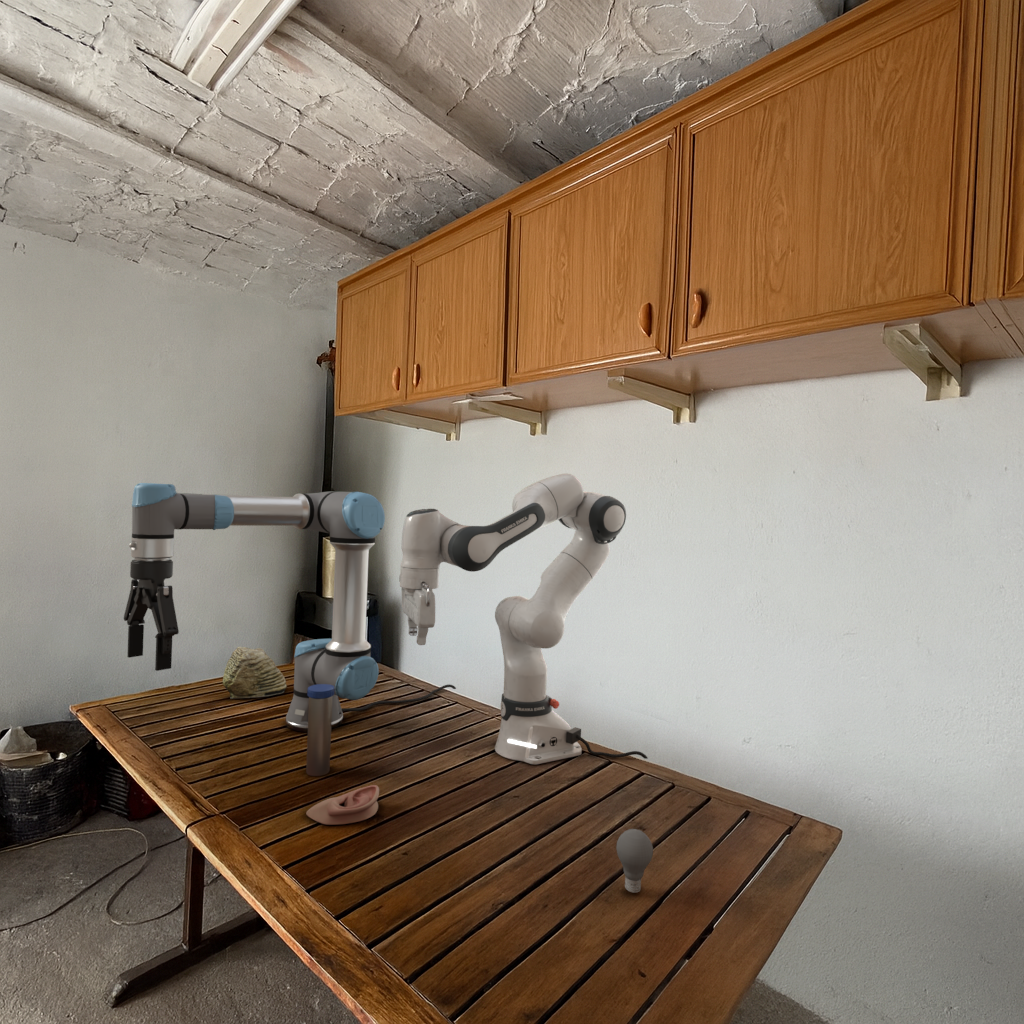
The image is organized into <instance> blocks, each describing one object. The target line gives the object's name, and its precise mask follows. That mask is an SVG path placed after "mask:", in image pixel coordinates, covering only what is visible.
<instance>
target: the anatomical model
mask: <svg viewBox="0 0 1024 1024" xmlns="http://www.w3.org/2000/svg"><path fill="white" fill-rule="evenodd" d="M379 795H380V787H379V786H378V785H376V784H372V785H367V786H364V787H360V788H356V789H354V790H352V791H349V792H347V793H344V794H341V795H339V796H335V797H330V798H327V799H325V800H322V801H320V802H318V803H316V804H315V805H312V806H311V807H310V808H309V809H308V810H306V812H305V813H306V816H307V817H308V818H309V819H311V820H313V821H315V822H317V823H319V824H321V825H327V826H333V825H346V824H353V823H357V822H362V821H365V820H367V819H369V818H372V817H373V816H374V815H376V814H377V811H378V810H379V803H378V799H379Z"/></svg>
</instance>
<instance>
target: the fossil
mask: <svg viewBox="0 0 1024 1024" xmlns="http://www.w3.org/2000/svg"><path fill="white" fill-rule="evenodd" d="M222 676H223V677H222V685H223V687H224V688H225V690H226V691H228V693H229V698H230V699H250V698H264V697H271V696H275V695H281V694H284V693H285V691H286V689H287V687H288V686H287V680H286V678H285V676H284V674H283V673H282V672H281V669H279V668H278V667H277V665H276V663H275V662H274V660H273V659H272V658H271V657H270V656H269V655H268V654H267V653H266V652H265V650H264V649H263V648H260V647H258V648H251V647H247V646H246V647H245V646H238V647H237V648H236V649H235V650H233V651H232V653H231V656H230V657H229V659H228V660H227V663H226V666H225V668H224V671H223V675H222Z"/></svg>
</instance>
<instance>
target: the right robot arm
mask: <svg viewBox="0 0 1024 1024" xmlns="http://www.w3.org/2000/svg"><path fill="white" fill-rule="evenodd" d="M511 507H512V508H511V509H512V512H511V513H508V514H507V515H505V516H503V517H501V518H499V519H498V520H496V521H494V522H492V523H490V524H488V525H467V524H461V523H458V522H456V521H454V520H452V519H450V518H448V517H446V516H445V515H444V514H442V513H441V512H440V510H438V509H436V508H421V509H415V510H412V511H410V512H408V513H407V515H406V516H405V518H404V521H403V527H402V532H401V551H402V560H401V562H400V570H399V579H398V581H399V588H401V606H402V612H403V613H404V614H405V616H407V625H408V635H409V636H411V637H416V644H417V645H418V646H425V645H427V637H428V632H429V628H430V629H432V628H434V627H435V624H436V595H435V592H434V590H437V589H439V585H440V565H441V563H446V564H449V565H452V566H455V567H458V568H460V569H462V570H464V571H466V572H479V571H482V570H484V569H486V568H487V567H488V566H489V565H490V564H491V563H492V562H493V561H494V560H495V559H496V557H498V555H499V554H500V553H501V552H502V551H503V550H505V549H506V548H508V547H510V546H512V545H513V544H515V543H517V542H518V541H520V540H522V539H523V538H525V537H526V536H529V535H530V534H532V533H533V532H535V531H537V530H540V529H542V528H545V527H547V526H549V525H551V524H553V523H555V522H556V521H559V523H560V524H561V525H563V526H564V527H565V528H567V529H572V530H574V534H573V537H572V539H571V540H570V542H569V543H568V544H567V545H566V546H565V547H564V548H563V549H562V550H561V551H560V552H559V554H558V555H556V557H555V558H554V559H553V560H552V561H551V562H550V563H549V564H548V566H547V567H546V568H545V569H544V571H543V572H542V573H541V575H540V582H539V585H538V587H537V589H536V590H535V592H534V594H533V596H532V597H530V598H529V597H526V596H523V595H513V596H507V597H505V598H503V599H502V600H500V601H499V602H498V603H497V606H496V608H495V611H494V619H495V622H496V625H497V627H498V630H499V637H500V642H501V650H502V656H503V693H502V694H501V701H500V717H501V719H500V725H499V731H498V735H497V739H496V742H495V745H494V751H495V752H496V754H497V755H500V756H501V757H503V758H506V759H509V760H513V761H519V762H524V763H527V764H530V765H540V764H545V763H550V762H554V761H559V760H564V759H569V758H573V757H577V756H581V755H582V754H583V753H582V751H583V749H582V747H581V745H580V743H579V741H580V742H581V743H582V744H583V745H585V747H586V750H587V752H588V753H589V754H590V755H593V756H601V757H602V756H604V757H608V758H613V759H614V758H616V759H617V758H625V757H629V756H633V755H634V756H635V755H638V756H640V757H642V758H643V759H644V760H645V759H646V760H647V759H648V756H647V755H646V754H645V753H643V752H641V751H638V750H633V751H632V750H631V751H627V752H622V753H616V754H615V753H610V752H609V753H608V752H604V751H594V750H592V749H591V746H590V744H589V742H588V741H587V740H586V739H584V738H583V737H582V728H579V727H573V728H572V727H571V726H570V724H569V723H568V722H567V721H566V720H565V719H564V718H563V717H562V716H561V715H559V714H558V713H557V712H555V710H556V709H557V710H558V708H559V707H560V702H559V701H558V700H557V699H556V698H552V697H551V696H549V695H548V694H547V683H548V665H547V662H546V660H545V657H544V655H543V651H542V649H551V648H553V647H556V646H557V645H558V644H559V643H560V642H561V640H562V639H563V637H564V634H565V629H566V627H565V621H566V618H567V616H568V613H569V612H570V610H571V608H572V606H573V604H574V603H575V601H576V600H577V599H578V598H579V596H581V594H582V592H583V591H584V590H585V589H586V588H587V587H588V585H589V584H590V583H591V582H592V581H593V579H595V577H596V576H597V575H598V574H599V572H600V570H601V569H602V568H603V566H604V564H605V563H606V561H607V559H608V557H609V555H610V551H611V549H610V548H611V547H610V544H609V543H612V542H613V541H615V540H616V538H617V536H618V535H619V534H620V533H621V532H622V530H623V528H624V527H625V523H626V520H627V510H626V507H625V505H624V503H622V502H621V501H620V500H618V498H616V497H613V496H610V495H605V494H602V493H599V492H596V491H595V492H594V491H584V486H583V484H582V482H581V481H580V480H579V479H578V478H577V477H576V476H575V475H573V474H571V473H561V474H555V475H552V476H549V477H545V478H543V479H541V480H538V481H536V482H534V483H531V484H530V485H527V486H525V487H524V488H523V489H521V490H520V491H518V492H517V493H515V495H514V497H513V499H512V502H511ZM553 709H555V710H553Z"/></svg>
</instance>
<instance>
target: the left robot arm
mask: <svg viewBox="0 0 1024 1024" xmlns="http://www.w3.org/2000/svg"><path fill="white" fill-rule="evenodd" d="M385 515H386V513H385V511H384V508H383V505H382V503H381V502H380V501H379V500H378V498H377V497H375V495H373V494H370V493H367V492H363V491H362V492H361V491H337V490H336V491H335V490H333V491H332V490H330V491H321V492H311V493H295V494H294V495H293V496H276V495H275V496H274V495H273V496H272V495H248V494H247V495H246V494H244V495H243V494H220V493H219V494H218V493H217V494H216V493H215V494H214V493H189V492H187V493H186V492H177V491H176V486H175V485H174V484H173V483H152V482H139V483H137V484H136V485H135V486H134V488H133V492H132V501H131V520H132V521H131V542H130V543H128V547H129V548H130V549H131V550H130V556H131V558H133V559H132V560H131V561H130V567H129V568H130V571H129V574H130V575H129V576H130V578H131V581H130V590H129V594H128V598H127V603H126V607H125V610H124V615H123V621H124V622H126V624H127V626H128V629H127V630H128V631H127V658H135V657H142V656H144V635H145V634H144V630H145V625H144V624H145V623H146V621H145V619H144V618H145V616H146V615H147V612H148V609H149V610H151V613H152V618H153V620H154V624H155V627H156V631H157V633H156V635H155V636H154V638H155V661H154V663H155V665H154V668H155V669H154V670H155V671H157V672H159V671H164V670H169V669H172V659H173V657H172V655H173V637H175V636H176V635H179V632H180V631H179V625H178V619H177V615H176V614H177V613H176V609H175V603H174V597H173V595H174V593H173V585H165V580H167V579H171V578H172V577H173V575H174V573H173V572H174V561H173V560H172V559H171V558H173V557H174V554H175V553H174V552H175V530H213V531H215V530H224V529H228V528H230V526H233V527H234V526H237V527H238V526H240V527H243V526H246V527H247V526H249V527H250V526H258V527H259V526H268V527H269V526H276V527H277V526H282V527H284V526H285V527H286V526H287V527H288V526H289V527H290V526H291V527H293V528H294V529H296V530H308V531H309V530H310V531H316V532H319V533H325V534H329V544H330V545H331V546H332V547H333V548H334V550H335V551H334V572H333V573H334V577H333V599H332V625H331V626H332V627H331V638H317V639H308V640H304V641H300V642H299V643H297V645H296V646H295V650H294V655H293V657H294V672H293V673H294V674H293V695H292V696H293V697H292V699H291V702H290V704H289V708H288V711H287V713H286V715H285V726H286V728H287V729H289V730H291V731H294V732H295V731H296V732H301V733H308V712H309V697H308V695H307V690H308V687H310V686H312V685H316V684H329V685H333V686H334V689H335V694H334V695H333V696H332V721H331V730H332V729H335V728H337V727H339V726H340V725H342V723H343V722H344V713H343V712H362V711H365V710H367V709H369V708H371V707H374V706H377V705H379V706H380V705H388V704H389V705H392V704H394V705H396V704H407V703H408V704H409V703H415V702H419V701H423V700H426V699H428V698H430V697H431V696H432V695H433V694H435V693H438V692H440V691H442V690H444V689H447V688H452V690H456V689H457V687H456V686H455V685H453V684H444V685H443V686H440V687H439V688H436V689H434V690H432V691H430V692H429V693H428V694H426V695H424V696H419V697H415V698H409V699H400V700H380V701H374V702H371V703H369V704H367V705H365V706H362V707H356V708H355V707H346V708H344V707H343V708H342V706H341V702H340V699H339V698H341V699H342V700H343V699H344V700H348V701H349V700H350V701H357V700H360V699H362V698H364V697H365V696H367V695H368V694H370V692H371V690H372V689H374V687H375V685H376V683H377V682H378V678H379V674H380V672H379V671H380V670H379V669H380V668H379V665H378V663H377V662H376V660H375V659H374V657H371V652H372V649H371V648H372V644H371V643H370V642H368V640H367V639H366V631H367V607H368V606H367V605H368V604H367V602H368V582H369V581H368V579H369V555H370V553H369V552H370V550H371V548H372V547H374V545H375V544H376V536H378V535H379V534H380V533H381V530H383V528H384V526H385V522H386V521H385V520H386V516H385Z"/></svg>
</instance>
